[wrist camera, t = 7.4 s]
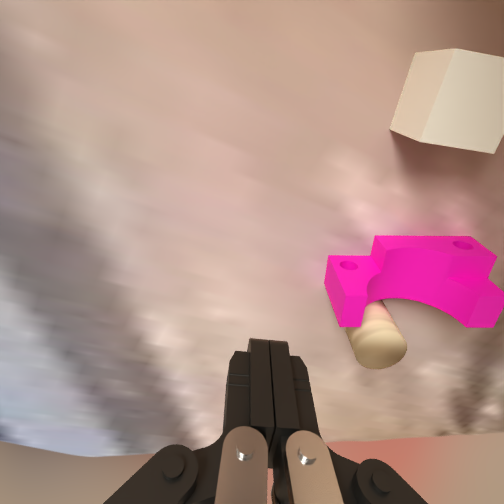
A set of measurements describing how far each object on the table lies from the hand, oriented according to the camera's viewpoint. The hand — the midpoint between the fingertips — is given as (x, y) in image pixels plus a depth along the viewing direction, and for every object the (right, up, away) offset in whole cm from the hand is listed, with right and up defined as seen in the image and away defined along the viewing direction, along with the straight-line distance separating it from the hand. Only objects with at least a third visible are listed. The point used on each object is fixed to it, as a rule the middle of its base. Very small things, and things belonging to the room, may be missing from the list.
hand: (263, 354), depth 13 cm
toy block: (+15, +3, +24) cm, 28 cm away
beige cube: (+15, +18, +15) cm, 28 cm away
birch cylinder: (+12, -2, +26) cm, 29 cm away
